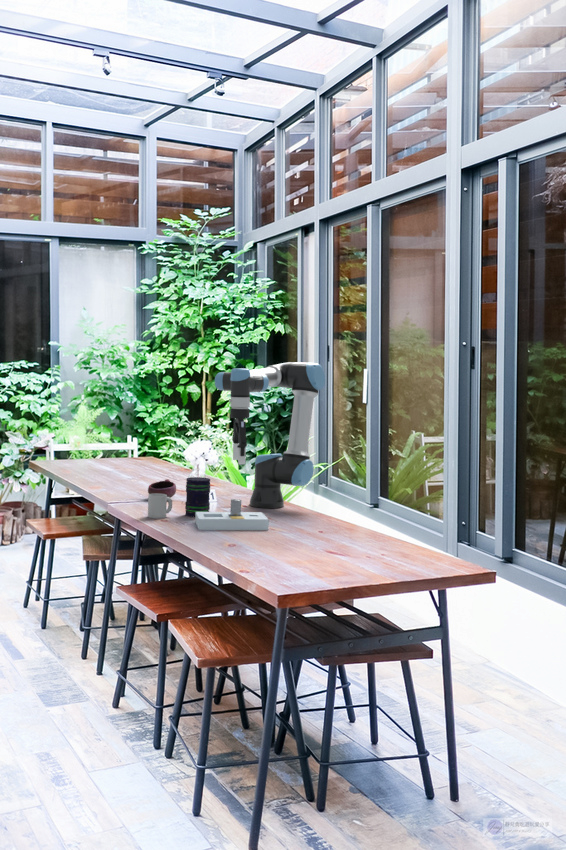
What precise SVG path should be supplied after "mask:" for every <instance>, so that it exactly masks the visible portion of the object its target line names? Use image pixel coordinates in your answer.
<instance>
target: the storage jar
mask: <svg viewBox="0 0 566 850" xmlns="http://www.w3.org/2000/svg"><path fill="white" fill-rule="evenodd" d="M185 493H186V499H185V503H184V504H185V508H184V509H185V515H184V516H185V517H189V518H195V514H196V512H210V509H211V505H210V503H211V502H210V493H211V478H208V477H202V476H201V477H199V476H198V477H197V476H196V477H194V476H193V477H187V478H186V483H185Z"/></svg>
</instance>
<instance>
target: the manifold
mask: <svg viewBox="0 0 566 850" xmlns="http://www.w3.org/2000/svg"><path fill="white" fill-rule="evenodd" d="M194 522H195V525H196V527H197V529H198V530H199V531H269V522H270V519H269V518H268V517H267V516H266V515H265V513H264V512H262V511H255V512H254V511H241V516H230V511H209V512H196V514H195V517H194Z"/></svg>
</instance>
